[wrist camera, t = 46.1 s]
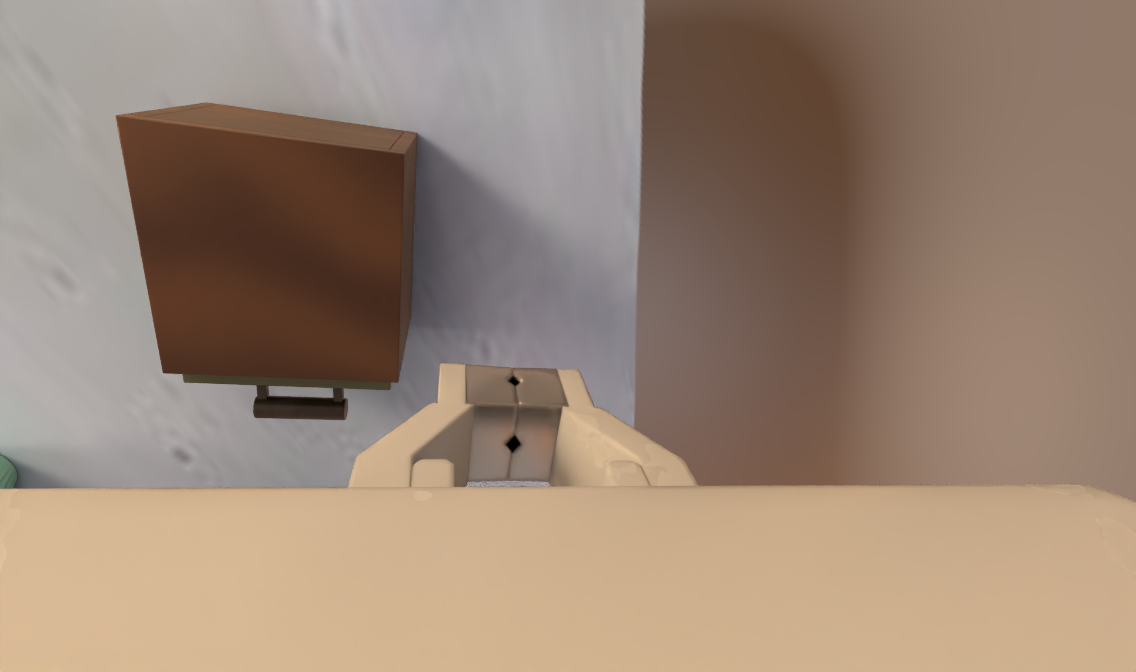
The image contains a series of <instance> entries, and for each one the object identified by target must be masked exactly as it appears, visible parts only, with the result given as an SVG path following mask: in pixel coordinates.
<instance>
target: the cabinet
mask: <svg viewBox="0 0 1136 672" xmlns="http://www.w3.org/2000/svg"><path fill="white" fill-rule="evenodd" d="M116 121H117V127H118V132H119V138H120V143H121V148H122V154H123V159H124V165H125V170H126V176H127V181H128V186H129V192H130V197H131V203H132V208H133V213H134V219H135V224H136V230H137V235H138V241H139V246H140V251H141V257H142V262H143V268H144V273H145V278H146V284H147V289H148V295H149V300H150V306H151V311H152V316H153V322H154V327H155V333H156V338H157V344H158V349H159V354H160V360H161V365H162V371H163V373H171V374H196V375H221V376H246V377H271V378H296V379H321V380H346V381H371V382H396V383H397V382H398V381H399V376H400V371H401V365H402V360H403V355H404V350H405V345H406V339H407V334H408V329H409V324H410V319H411V299H412V272H413V244H414V216H415V189H416V161H417V133H415V132H408V131H401V130H394V129H387V128H380V127H373V126H366V125H359V124H352V123H345V122H338V121H331V120H324V119H317V118H310V117H303V116H296V115H289V114H282V113H275V112H268V111H261V110H254V109H247V108H240V107H233V106H226V105H219V104H212V103H200V104H193V105H186V106H179V107H172V108H165V109H158V110H151V111H144V112H137V113H130V114H122V115H116Z"/></svg>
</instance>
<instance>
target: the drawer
mask: <svg viewBox="0 0 1136 672" xmlns="http://www.w3.org/2000/svg"><path fill="white" fill-rule="evenodd" d="M183 380H184V382H185V383H212V384H239V385H256V386H257V395H258V396H257V397H256V399H255V401H254V406H253V414H254V417H255V418H278V419H319V420H345V419H346V417H347V412H348V400H347V398H344V388H347V389H375V390H390V388H391V384H392V382H371V381H346V380H321V379H296V378H271V377H246V376H221V375H196V374H183ZM268 386H293V387H320V388H333V395H334V398H321V397H291V396H269V388H268Z"/></svg>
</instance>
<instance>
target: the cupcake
mask: <svg viewBox="0 0 1136 672" xmlns="http://www.w3.org/2000/svg"><path fill="white" fill-rule="evenodd" d="M16 481H17V472H16V469H15V467H14V466H13V465H12V463H11V462H10V461H8V460H7V459H6V458H5V457H3V456H1V455H0V489H13V487H14V485H15V483H16Z"/></svg>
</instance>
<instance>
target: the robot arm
mask: <svg viewBox="0 0 1136 672" xmlns="http://www.w3.org/2000/svg"><path fill="white" fill-rule="evenodd" d="M477 481H544V482H549V484H550V485H551V486H549V487H465V486H466V485H467V482H477ZM0 672H1136V502H1133V501H1131V500H1129V499H1126V498H1124V497H1121V496H1119V495H1116V494H1114V493H1111V492H1109V491H1106V490H1103V489H1100V488H1097V487H1093V486H1088V485H1079V484H1047V485H1046V484H1042V485H1041V484H1039V485H810V486H809V485H787V486H786V485H784V486H782V485H781V486H698V484H697V482H696V480H695V479H694V477H693V475H692V474H691V472H690V470H689V468H688V467H687V465H686V463H685V461H684V460H683V459H681V458H680V457H678V456H677V455H675V454H673V453H672V452H670V451H669V450H667V449H665V448H664V447H662V446H661V445H659V444H657V443H656V442H654V441H653V440H651V439H649V438H648V437H646V436H645V435H643V434H642V433H640V432H638V431H637V430H635V429H634V428H632V427H630V426H629V425H627V424H626V423H624V422H622V421H621V420H619V419H618V418H616V417H615V416H613V415H611V414H610V413H608V412H607V411H605V410H603V409H602V408H595V407H594V404H593V402H592V400H591V397H590V395H589V392H588V390H587V388H586V385H585V383H584V380H583V378H582V376H581V373H580V371H579V370H577V369H546V368H511V367H495V366H480V365H464V364H445V363H441V364H440V373H439V389H438V403H430V404H429V405H428V406H426V407H425V408H423V409H422V410H421V411H419V412H418V413H416V414H415V415H414V416H412V417H411V418H410V419H408V420H407V421H405V422H404V423H403V424H401V425H400V426H398V427H397V428H396V429H394V430H393V431H391V432H390V433H389V434H387V435H386V436H385V437H383V438H382V439H380V440H379V441H378V442H376V443H375V444H373V445H372V446H371V447H369V448H368V449H366V450H365V451H364V452H362V453H361V454H360V455H358V456H357V457H356V460H355V463H354V467H353V471H352V475H351V478H350V482H349V486H348V487H298V488H80V489H0Z"/></svg>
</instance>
